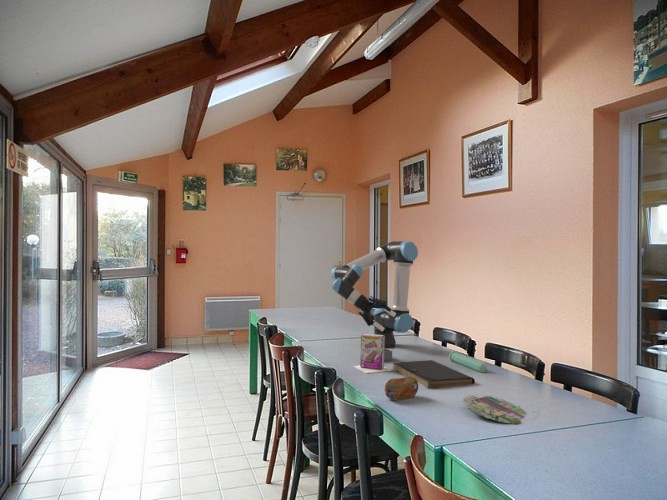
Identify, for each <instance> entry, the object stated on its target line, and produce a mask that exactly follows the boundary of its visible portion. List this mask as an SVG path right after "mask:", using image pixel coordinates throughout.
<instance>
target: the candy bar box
mask: <svg viewBox="0 0 667 500" xmlns="http://www.w3.org/2000/svg"><path fill="white" fill-rule="evenodd" d="M384 342H385V336H384V335H375V334H374V333H362V334H361V335H360V364H359V365H360V367H361V368H370V369H379V370H382V369H383V368H384V366H385V361H384Z"/></svg>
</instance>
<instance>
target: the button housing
mask: <svg viewBox="0 0 667 500" xmlns="http://www.w3.org/2000/svg"><path fill="white" fill-rule="evenodd" d="M391 361H393V351H392V350H390V349H389V348H384V362H391Z"/></svg>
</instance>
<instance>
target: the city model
mask: <svg viewBox="0 0 667 500" xmlns="http://www.w3.org/2000/svg"><path fill="white" fill-rule="evenodd" d="M462 402H463V403H464V405H466V407H467V409H468V410H470V411H472V412H474V413H475V414H476V415H479V416H480V417H484V418H486V419H491V420H493V421H497V422H499V423H507V424H511V425H513V424H514V425H517V424H520V423H521V422H522V420H523V419H524V418H525V417H526V416H527V412H526V411H524V410H522V408H521V405H519V406H517V405H516V404H513V403H511V402H509V401H507V400H505V399H503V398H499V397H497V396H496V397H495V396H493V395H492V396H489V395H485V394H472V395H471V394H470V395H467V396H464V397H463V400H462Z"/></svg>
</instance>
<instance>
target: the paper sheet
mask: <svg viewBox="0 0 667 500" xmlns="http://www.w3.org/2000/svg"><path fill="white" fill-rule="evenodd" d="M353 368H356V369H357V370H359V371H361V372H363V373H365V374H368V375H369V374H374V373H385V371H386V372H391V371H393V370H392V368H388V367H387V366H385V365H384V368H383V369H382V370H379V369H370V368H361V367H360V364H359V365H353Z"/></svg>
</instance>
